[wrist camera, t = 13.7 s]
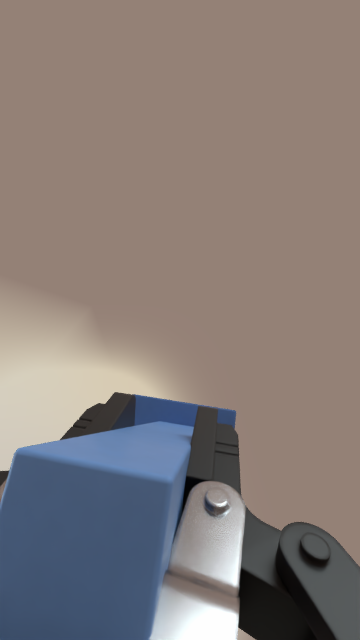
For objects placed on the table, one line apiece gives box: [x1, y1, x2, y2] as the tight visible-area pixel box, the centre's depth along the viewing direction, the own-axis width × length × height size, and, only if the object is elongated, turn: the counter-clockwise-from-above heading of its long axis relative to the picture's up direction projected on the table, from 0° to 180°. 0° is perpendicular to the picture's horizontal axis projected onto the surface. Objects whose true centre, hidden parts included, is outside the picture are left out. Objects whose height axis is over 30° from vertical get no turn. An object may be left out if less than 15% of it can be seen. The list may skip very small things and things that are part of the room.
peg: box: [0, 394, 236, 640], centre depth 13 cm, size 18×6×4 cm, turn 175°
